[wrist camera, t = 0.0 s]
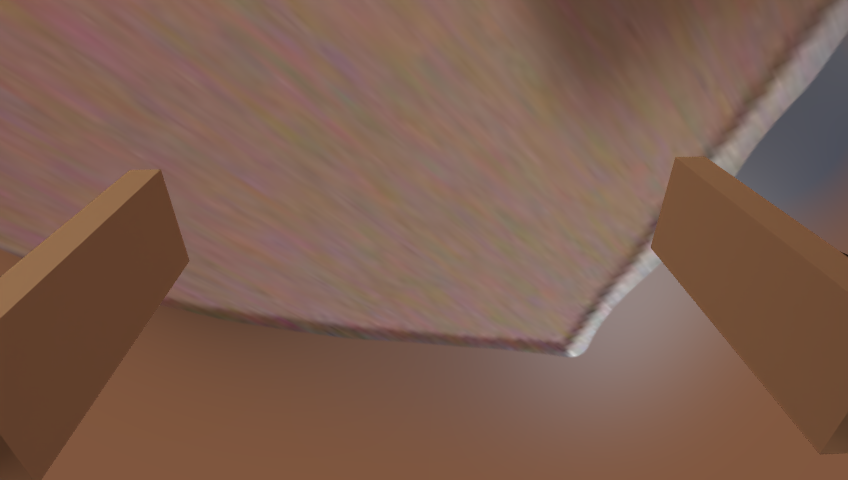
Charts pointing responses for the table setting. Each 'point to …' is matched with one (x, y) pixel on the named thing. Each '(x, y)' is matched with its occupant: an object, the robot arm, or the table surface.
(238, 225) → the table surface
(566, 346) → the table surface
